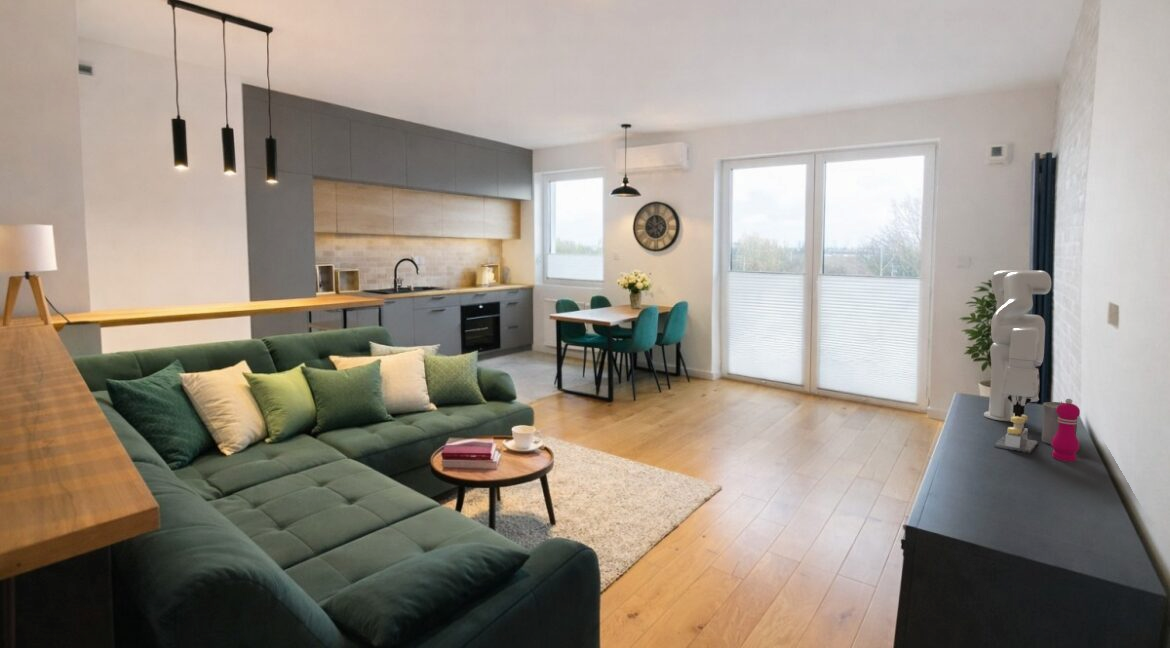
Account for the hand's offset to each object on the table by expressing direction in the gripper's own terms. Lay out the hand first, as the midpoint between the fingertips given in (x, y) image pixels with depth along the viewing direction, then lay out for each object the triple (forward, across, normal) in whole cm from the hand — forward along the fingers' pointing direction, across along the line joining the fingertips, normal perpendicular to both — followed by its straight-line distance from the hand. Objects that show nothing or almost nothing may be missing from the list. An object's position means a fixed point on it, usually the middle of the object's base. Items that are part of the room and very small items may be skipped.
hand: (1018, 415), depth 212 cm
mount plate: (+11, 0, 0) cm, 11 cm away
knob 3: (+7, 0, -5) cm, 8 cm away
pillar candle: (+11, -10, -14) cm, 20 cm away
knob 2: (+9, 0, +4) cm, 10 cm away
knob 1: (+7, 0, 0) cm, 7 cm away
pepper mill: (+11, -14, +5) cm, 18 cm away
